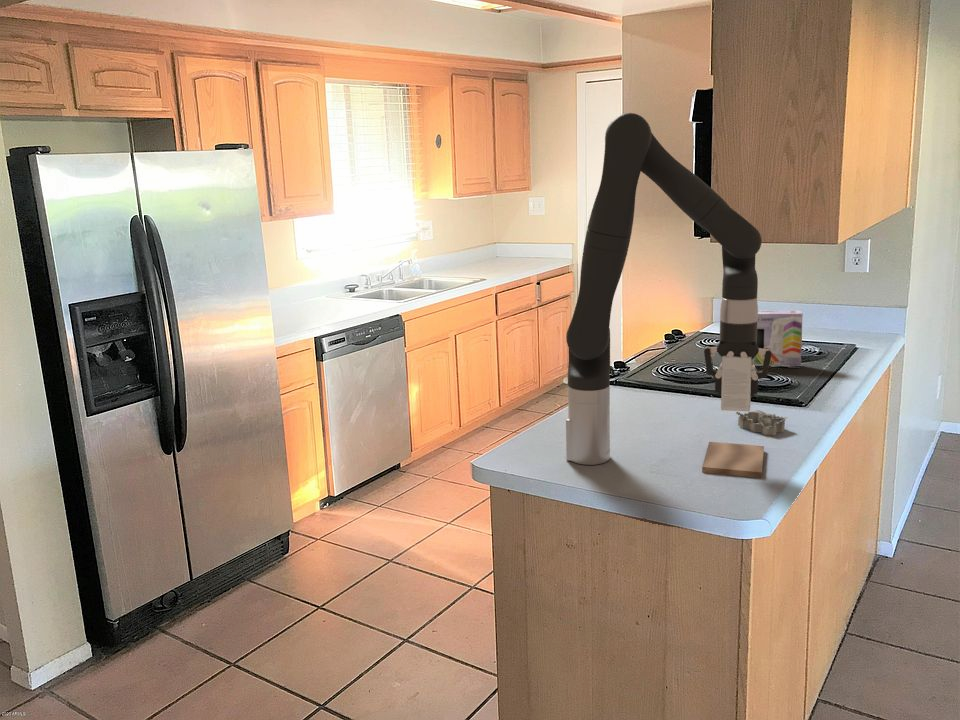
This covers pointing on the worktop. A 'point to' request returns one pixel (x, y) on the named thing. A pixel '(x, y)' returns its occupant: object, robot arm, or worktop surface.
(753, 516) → the worktop surface
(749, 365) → the skincare box
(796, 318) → the cake pan box
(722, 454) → the wooden board
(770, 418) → the egg carton
